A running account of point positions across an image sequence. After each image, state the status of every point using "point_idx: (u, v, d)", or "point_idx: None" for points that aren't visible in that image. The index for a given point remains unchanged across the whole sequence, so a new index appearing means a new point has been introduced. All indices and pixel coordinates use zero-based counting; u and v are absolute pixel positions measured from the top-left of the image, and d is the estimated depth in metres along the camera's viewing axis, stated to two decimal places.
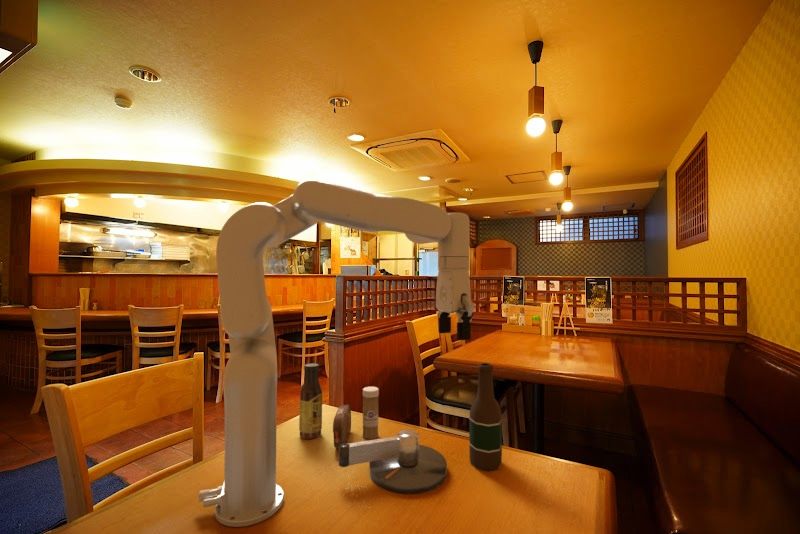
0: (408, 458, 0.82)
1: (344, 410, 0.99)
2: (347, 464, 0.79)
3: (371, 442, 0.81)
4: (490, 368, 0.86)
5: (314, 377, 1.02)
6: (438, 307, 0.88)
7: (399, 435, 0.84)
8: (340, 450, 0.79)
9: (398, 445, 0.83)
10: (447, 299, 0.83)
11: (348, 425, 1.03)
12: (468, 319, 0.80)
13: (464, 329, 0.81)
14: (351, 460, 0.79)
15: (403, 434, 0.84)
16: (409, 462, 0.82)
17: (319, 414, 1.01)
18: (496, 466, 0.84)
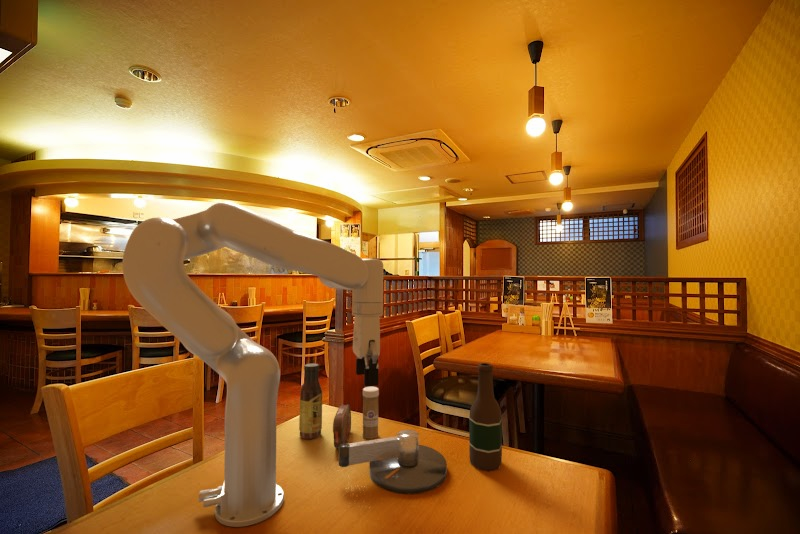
0: (408, 458, 0.82)
1: (344, 410, 0.99)
2: (347, 464, 0.79)
3: (371, 442, 0.81)
4: (490, 368, 0.86)
5: (314, 377, 1.02)
6: (353, 350, 0.89)
7: (399, 435, 0.84)
8: (340, 450, 0.79)
9: (398, 445, 0.83)
10: (357, 344, 0.85)
11: (348, 425, 1.03)
12: (374, 366, 0.81)
13: (370, 375, 0.82)
14: (351, 460, 0.79)
15: (403, 434, 0.84)
16: (409, 462, 0.82)
17: (319, 414, 1.01)
18: (496, 466, 0.84)
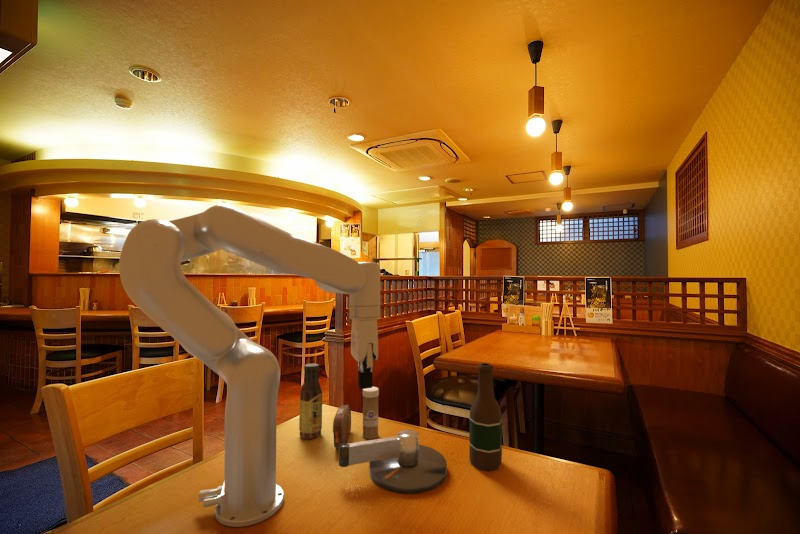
0: (408, 458, 0.82)
1: (344, 410, 0.99)
2: (347, 464, 0.79)
3: (371, 442, 0.81)
4: (490, 368, 0.86)
5: (314, 377, 1.02)
6: (351, 353, 0.90)
7: (399, 435, 0.84)
8: (340, 450, 0.79)
9: (398, 445, 0.83)
10: (355, 348, 0.85)
11: (348, 425, 1.03)
12: (368, 370, 0.86)
13: (365, 379, 0.86)
14: (351, 460, 0.79)
15: (403, 434, 0.84)
16: (409, 462, 0.82)
17: (319, 414, 1.01)
18: (496, 466, 0.84)
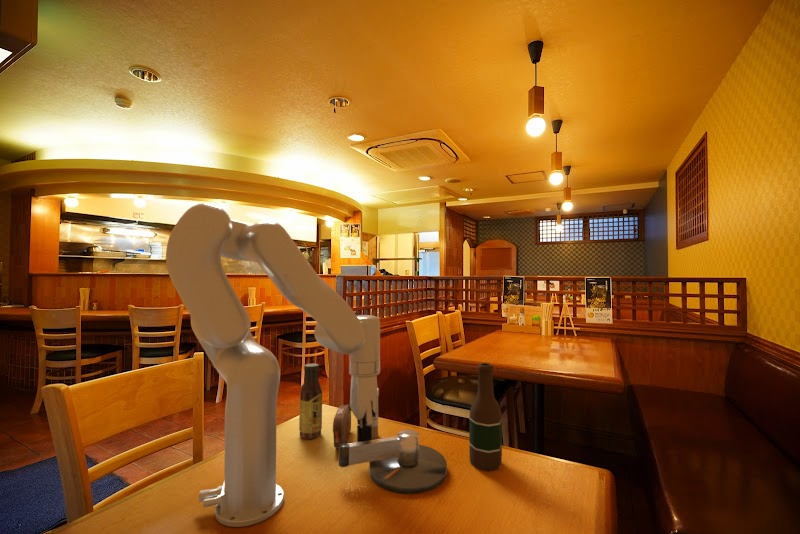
0: (408, 458, 0.82)
1: (344, 410, 0.99)
2: (347, 464, 0.79)
3: (371, 442, 0.81)
4: (490, 368, 0.86)
5: (314, 377, 1.02)
6: (350, 407, 0.89)
7: (399, 435, 0.84)
8: (340, 450, 0.79)
9: (398, 445, 0.83)
10: (355, 404, 0.84)
11: (348, 425, 1.03)
12: (367, 426, 0.85)
13: (364, 434, 0.86)
14: (351, 460, 0.79)
15: (403, 434, 0.84)
16: (409, 462, 0.82)
17: (319, 414, 1.01)
18: (496, 466, 0.84)
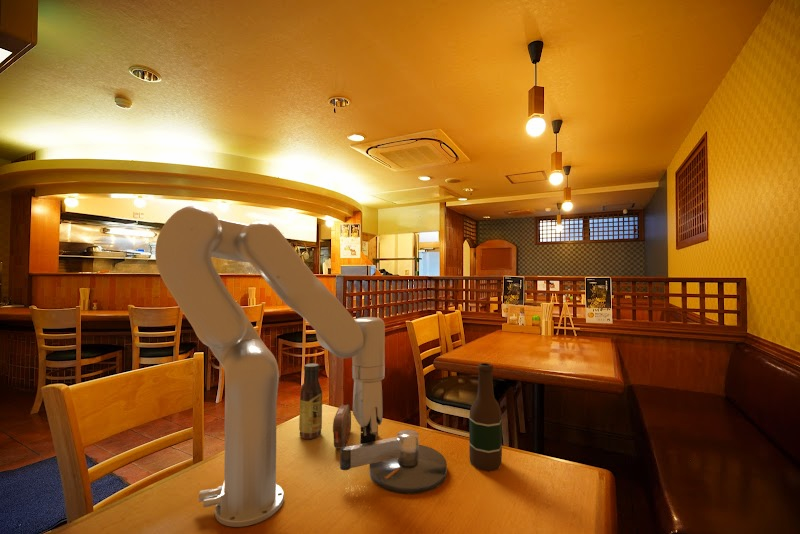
0: (409, 458, 0.82)
1: (344, 410, 0.99)
2: (349, 467, 0.77)
3: (372, 444, 0.80)
4: (490, 368, 0.86)
5: (314, 377, 1.02)
6: (353, 413, 0.85)
7: (399, 435, 0.84)
8: (342, 453, 0.77)
9: (399, 445, 0.82)
10: (358, 411, 0.81)
11: (348, 425, 1.03)
12: (371, 433, 0.81)
13: None
14: (353, 463, 0.78)
15: (403, 434, 0.84)
16: (410, 462, 0.82)
17: (319, 414, 1.01)
18: (496, 466, 0.84)
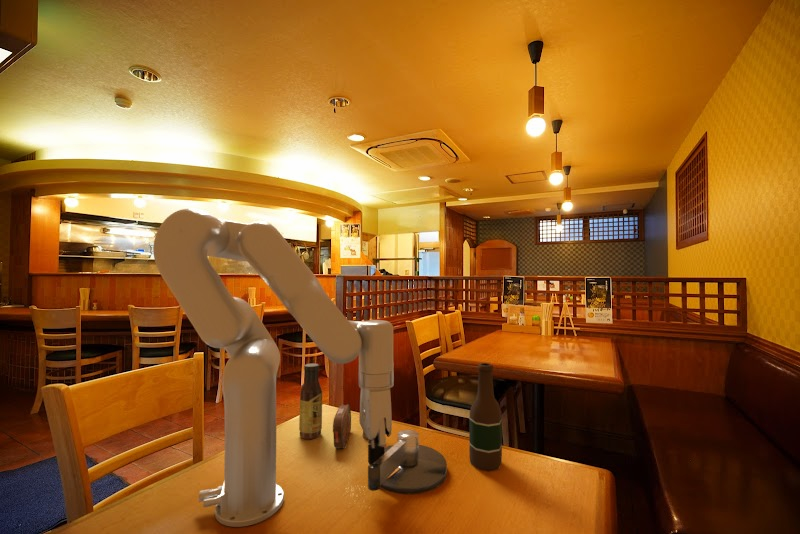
0: (416, 456, 0.83)
1: (344, 410, 0.99)
2: None
3: (390, 453, 0.76)
4: (490, 368, 0.86)
5: (314, 377, 1.02)
6: (360, 423, 0.79)
7: (403, 437, 0.83)
8: (374, 472, 0.70)
9: (406, 447, 0.82)
10: (366, 421, 0.75)
11: (348, 425, 1.03)
12: (380, 445, 0.75)
13: (376, 455, 0.76)
14: (381, 479, 0.72)
15: (404, 435, 0.84)
16: (416, 460, 0.83)
17: (319, 414, 1.01)
18: (496, 466, 0.84)
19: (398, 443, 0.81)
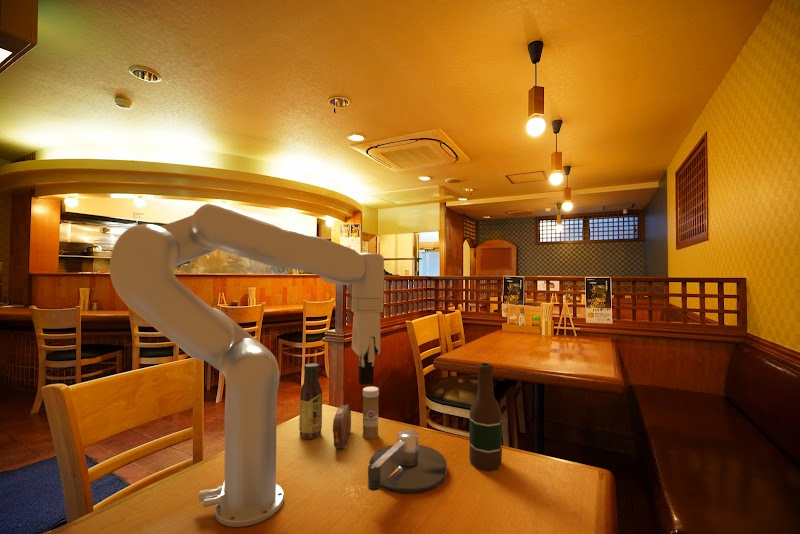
0: (416, 456, 0.83)
1: (344, 410, 0.99)
2: None
3: (390, 453, 0.76)
4: (490, 368, 0.86)
5: (314, 377, 1.02)
6: (352, 347, 0.87)
7: (403, 437, 0.83)
8: (374, 472, 0.70)
9: (406, 447, 0.82)
10: (357, 341, 0.82)
11: (348, 425, 1.03)
12: (369, 364, 0.83)
13: (366, 374, 0.83)
14: (381, 479, 0.72)
15: (404, 435, 0.84)
16: (416, 460, 0.83)
17: (319, 414, 1.01)
18: (496, 466, 0.84)
19: (398, 443, 0.81)
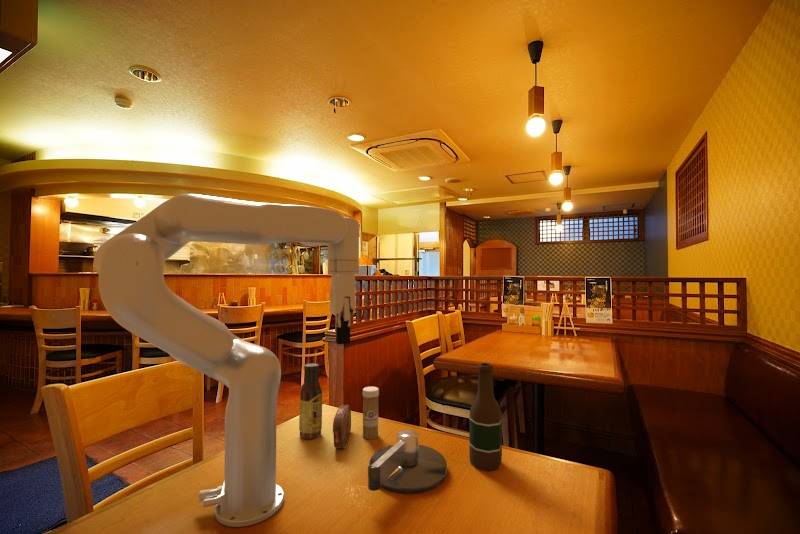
0: (416, 456, 0.83)
1: (344, 410, 0.99)
2: None
3: (390, 453, 0.76)
4: (490, 368, 0.86)
5: (314, 377, 1.02)
6: (330, 310, 0.89)
7: (403, 437, 0.83)
8: (374, 472, 0.70)
9: (406, 447, 0.82)
10: (333, 302, 0.85)
11: (348, 425, 1.03)
12: (345, 324, 0.86)
13: (342, 334, 0.86)
14: (381, 479, 0.72)
15: (404, 435, 0.84)
16: (416, 460, 0.83)
17: (319, 414, 1.01)
18: (496, 466, 0.84)
19: (398, 443, 0.81)
